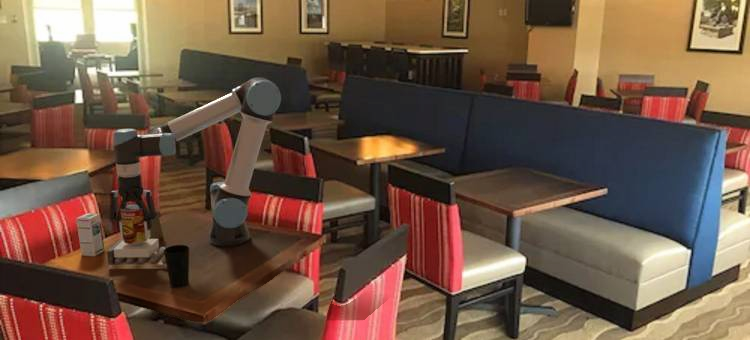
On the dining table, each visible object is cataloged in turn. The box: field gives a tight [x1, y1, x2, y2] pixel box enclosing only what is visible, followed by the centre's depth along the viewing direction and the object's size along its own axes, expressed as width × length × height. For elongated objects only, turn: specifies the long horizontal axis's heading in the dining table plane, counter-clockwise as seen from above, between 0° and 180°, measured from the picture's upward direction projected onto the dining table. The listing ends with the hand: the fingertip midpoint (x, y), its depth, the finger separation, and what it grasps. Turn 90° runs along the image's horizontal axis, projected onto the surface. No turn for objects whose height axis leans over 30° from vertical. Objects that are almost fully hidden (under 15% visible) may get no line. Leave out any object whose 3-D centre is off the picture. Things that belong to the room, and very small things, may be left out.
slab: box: [113, 239, 160, 258], centre depth 215 cm, size 12×10×3 cm
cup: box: [164, 244, 190, 289], centre depth 196 cm, size 8×8×12 cm
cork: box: [149, 208, 164, 240], centre depth 240 cm, size 6×6×11 cm
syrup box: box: [75, 212, 105, 257], centre depth 223 cm, size 6×6×14 cm
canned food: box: [119, 203, 148, 244], centre depth 212 cm, size 8×8×12 cm
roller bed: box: [106, 238, 167, 270], centre depth 215 cm, size 22×12×6 cm, turn 91°
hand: (135, 238), depth 214 cm, fingers closed on canned food, 8 cm apart
